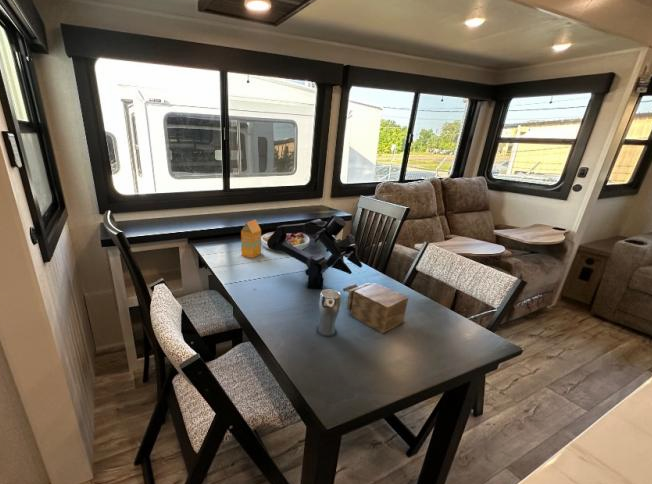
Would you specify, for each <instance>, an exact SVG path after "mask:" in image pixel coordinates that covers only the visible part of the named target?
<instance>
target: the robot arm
mask: <svg viewBox="0 0 652 484" xmlns="http://www.w3.org/2000/svg"><path fill="white" fill-rule="evenodd" d="M346 226H347V222H346V221H345V220H344V219H343V218H342V217H340V216H338V215H336V214H332V215H331V216H330V217H329V219H328V220H327V221H323V220H322V219H321V218H317V219H314V220H311V221H308V222H305V223H294V224H282V225H279V226H277V228H276V229H275V230H274V231H273V232H274V233H273V234H272V235H271V237H270V238H269V239H268V241H267V245H268V248H269V249H268V248H267V249H268V250H270V249H271V251H273V250H274V252H278V251H280V253H284V254H286V255H288V256H290V257H291V258H293V259H295V260H297V261H298V262H301V263H302V264H304V265H306V267H307V268H306V269H305V275H306V276H307V282H306V283H307V284H306V285H307V289H317V290H322V289H323V286H324V280H325V278H324V275H323V274H324V273H325V272H326V271H327V270H328V269H329V268H331V269H336V270H338V271H341V272H343V273H346V274H348V275H351V274H353V271H352V270H351V269H350V268H349V266H348V265H347V264H346V262H345V259H344V258H346V260H347V261H349V262H350V263H352V264H353V265H355V266H356V267H358V268H362V267H363V264H362V262H361V260H360V258H359V256H358V251H359V245H357V243H356V236H354V235H353V234H351V233H349V234H347V235H346V236H345V238H344V239H341V238H336V236H338V235H339V234H340V233H341V232H342V230H343V229H344V228H345V227H346ZM289 233H303V234H304V235H310V236H314V235H316V236H314V243H315V244H316V243H321V244H322V245H323V246H324V247H325V248H326V249H325V252H327V253H328V252H329V253H330V254H331V255H330V256H328V258H326V256H323V255H321V254H320V253H316V254H313V255H311V254H309V253H308V252H306V251H304V250H300V249H298V248H296V247H294V246H292V245H290V244H288V243H287V241H286V237H287V234H289ZM317 234H318V235H317Z"/></svg>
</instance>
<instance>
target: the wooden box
mask: <svg viewBox="0 0 652 484" xmlns="http://www.w3.org/2000/svg"><path fill="white" fill-rule="evenodd" d="M408 302H409V296H406V295H404V294H402V293H400V292H397V291H395V290H393V289H390V288H388V287H385V286H383V285H381V284H379V283H377V282H374V283H370V285H368V286H365V287H363V288H360V289H358V290H355V291H354V295H353V302H352V309H351V310H350V316H351V317H353V318H355V319H357V320H358V321H360V322H361V323H363V324H365V325H367V326H369V327H371V328H372V329H374V330H376V331H377V332H379V333H381V334H385V333H386V332H389V331H390V330H392V329H393V328H395V327H397V326H399V325H400V324H403V323H404V319H405V316H406V311H407V308H408V307H407V306H408Z"/></svg>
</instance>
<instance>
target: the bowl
mask: <svg viewBox="0 0 652 484" xmlns="http://www.w3.org/2000/svg"><path fill="white" fill-rule="evenodd" d="M274 232H275V231H271V232H267V233H265V234H262V235H261V245H262V246H263V247H264V248H266V249H268V250H271V249H269V248H268V245H267V241H268V239H269V238H270V237H271V235H272V234H273V233H274ZM286 241H287V243H288V244H290V245H292V246H294V247H296V248H298V249H300V250H302V251H304V249H306V248H307V247H308V246H309V244H310V237H309V236H308V235H307V234H305V233H289V234H287V237H286ZM271 251H274V250H271ZM274 252H275V251H274ZM279 252H280V251H277V253H279ZM280 253H281V252H280Z"/></svg>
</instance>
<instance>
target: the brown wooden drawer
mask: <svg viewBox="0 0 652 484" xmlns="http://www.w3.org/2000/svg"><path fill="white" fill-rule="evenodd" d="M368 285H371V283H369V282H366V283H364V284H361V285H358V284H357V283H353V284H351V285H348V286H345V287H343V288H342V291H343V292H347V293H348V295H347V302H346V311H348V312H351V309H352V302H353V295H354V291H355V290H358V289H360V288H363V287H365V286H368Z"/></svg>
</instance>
